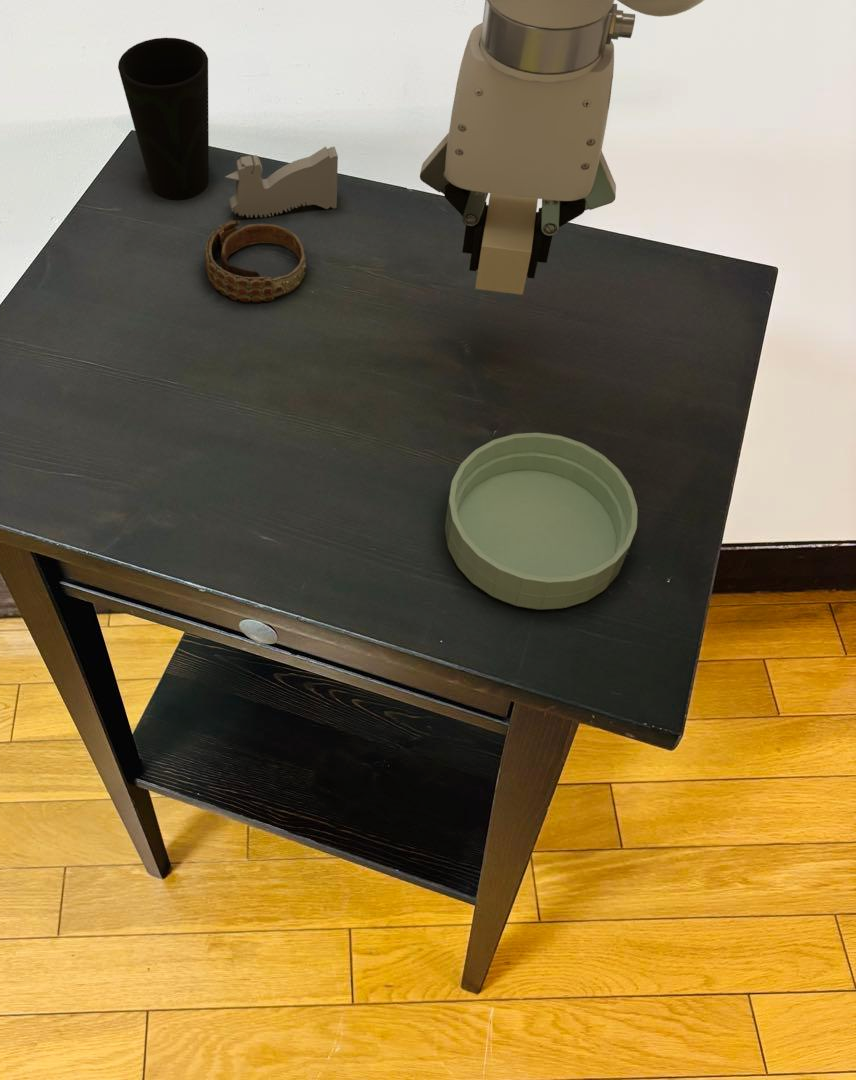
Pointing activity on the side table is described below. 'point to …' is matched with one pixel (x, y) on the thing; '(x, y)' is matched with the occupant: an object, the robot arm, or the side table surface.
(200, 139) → the cup
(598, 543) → the bowl
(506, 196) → the tan rectangular block
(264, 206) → the serrated bird cutout
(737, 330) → the side table surface
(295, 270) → the bracelet
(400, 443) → the side table surface
